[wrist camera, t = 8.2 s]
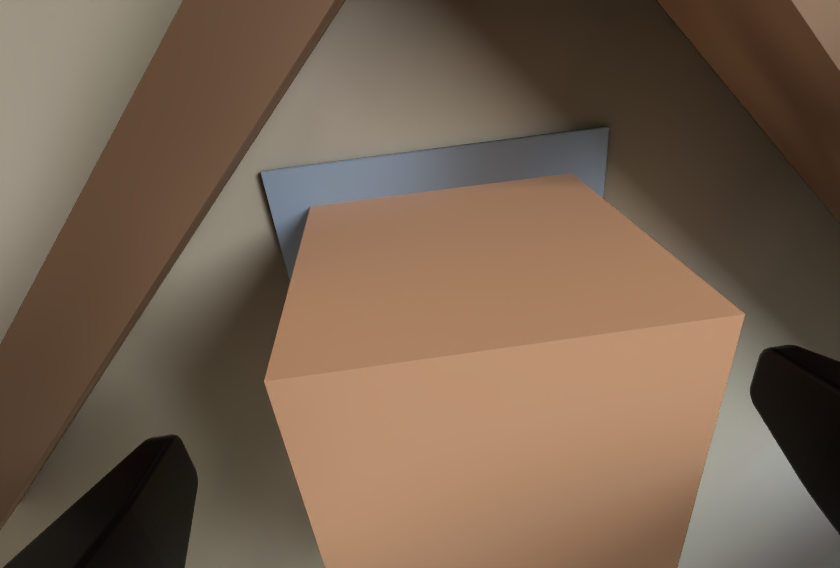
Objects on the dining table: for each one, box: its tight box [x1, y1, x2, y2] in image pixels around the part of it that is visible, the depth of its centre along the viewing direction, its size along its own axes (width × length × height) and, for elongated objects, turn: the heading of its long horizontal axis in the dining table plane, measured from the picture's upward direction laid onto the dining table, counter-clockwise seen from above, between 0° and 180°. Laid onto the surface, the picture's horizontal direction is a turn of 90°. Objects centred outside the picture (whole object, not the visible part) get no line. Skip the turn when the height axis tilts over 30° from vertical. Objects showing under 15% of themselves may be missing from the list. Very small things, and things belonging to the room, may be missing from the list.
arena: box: [0, 0, 840, 530], centre depth 11 cm, size 17×19×3 cm
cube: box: [264, 173, 745, 568], centre depth 9 cm, size 5×5×5 cm
